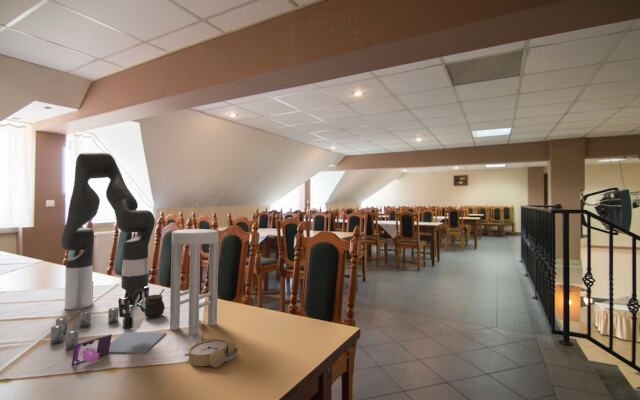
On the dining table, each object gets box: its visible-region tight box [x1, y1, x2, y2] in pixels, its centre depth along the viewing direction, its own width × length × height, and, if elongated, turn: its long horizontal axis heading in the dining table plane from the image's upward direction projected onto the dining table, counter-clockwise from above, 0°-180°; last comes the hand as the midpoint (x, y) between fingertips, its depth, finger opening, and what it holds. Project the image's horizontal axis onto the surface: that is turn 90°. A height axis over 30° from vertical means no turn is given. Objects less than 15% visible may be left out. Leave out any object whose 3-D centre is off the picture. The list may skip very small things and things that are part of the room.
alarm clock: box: [184, 338, 239, 369], centre depth 94 cm, size 11×5×15 cm
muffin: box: [122, 306, 146, 331], centre depth 103 cm, size 6×6×7 cm
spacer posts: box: [50, 307, 124, 351], centre depth 110 cm, size 24×22×5 cm
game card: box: [70, 334, 113, 366], centre depth 91 cm, size 7×5×9 cm
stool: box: [169, 228, 220, 336], centre depth 118 cm, size 16×16×35 cm
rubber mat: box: [108, 332, 167, 354], centre depth 103 cm, size 14×14×1 cm
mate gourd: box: [144, 288, 166, 319], centre depth 127 cm, size 7×8×10 cm
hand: (134, 324), depth 103 cm, fingers closed on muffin, 6 cm apart
